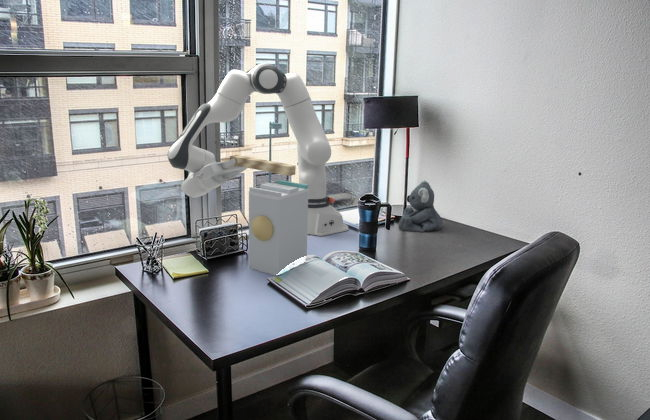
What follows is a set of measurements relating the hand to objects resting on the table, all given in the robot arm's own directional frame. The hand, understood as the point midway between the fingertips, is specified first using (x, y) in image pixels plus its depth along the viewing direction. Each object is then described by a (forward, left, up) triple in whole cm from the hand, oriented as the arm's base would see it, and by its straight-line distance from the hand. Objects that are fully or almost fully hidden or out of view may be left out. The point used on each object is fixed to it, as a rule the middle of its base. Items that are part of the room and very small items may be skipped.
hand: (239, 159), depth 187 cm
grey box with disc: (-6, +20, -33) cm, 39 cm away
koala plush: (-79, +2, -33) cm, 86 cm away
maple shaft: (-5, +8, -2) cm, 10 cm away
